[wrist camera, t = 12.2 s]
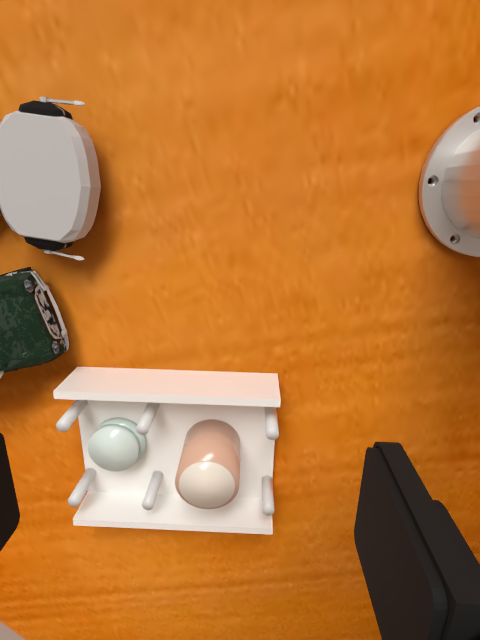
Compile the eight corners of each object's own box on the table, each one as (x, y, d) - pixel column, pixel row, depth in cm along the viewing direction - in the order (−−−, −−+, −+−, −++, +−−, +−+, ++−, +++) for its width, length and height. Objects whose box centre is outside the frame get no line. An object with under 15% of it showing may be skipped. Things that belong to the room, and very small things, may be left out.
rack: (277, 373, 40) (281, 401, 35) (270, 496, 45) (272, 537, 40) (77, 366, 41) (50, 393, 35) (93, 489, 46) (71, 528, 41)
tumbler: (242, 421, 41) (241, 461, 35) (238, 468, 43) (236, 513, 37) (185, 417, 41) (175, 456, 35) (183, 464, 43) (173, 508, 37)
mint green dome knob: (145, 418, 41) (139, 429, 39) (148, 462, 43) (143, 475, 41) (93, 416, 41) (85, 427, 39) (98, 460, 43) (90, 472, 41)
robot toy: (-41, 231, 38) (108, 255, 37) (-82, 236, 33) (85, 263, 32) (-55, 89, 34) (112, 111, 33) (-104, 74, 29) (86, 99, 28)
